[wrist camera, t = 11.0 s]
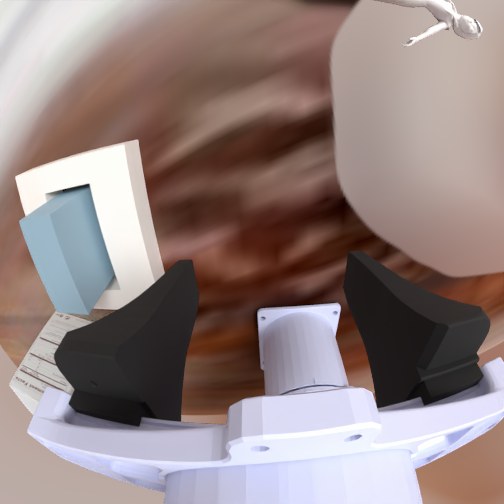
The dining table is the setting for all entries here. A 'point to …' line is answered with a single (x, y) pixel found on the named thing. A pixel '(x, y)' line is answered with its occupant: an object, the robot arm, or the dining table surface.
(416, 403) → the robot arm
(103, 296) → the white rectangular frame
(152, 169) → the dining table surface
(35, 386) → the supplement box
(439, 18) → the woman figurine
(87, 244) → the block
